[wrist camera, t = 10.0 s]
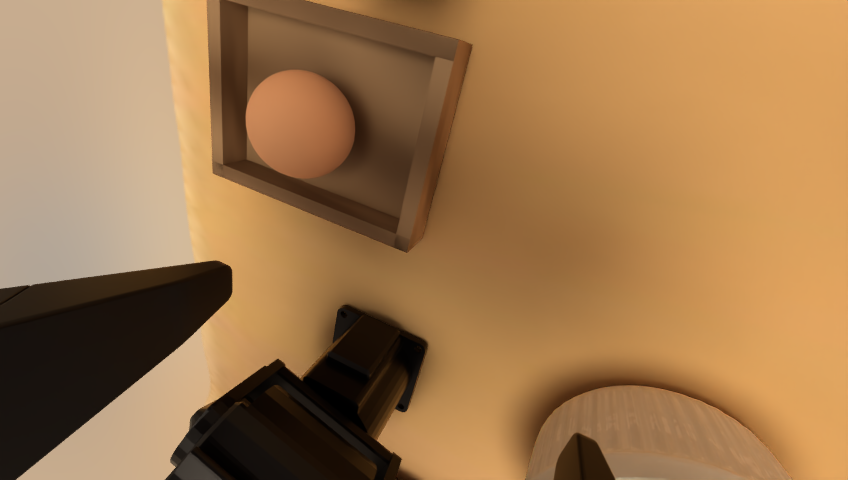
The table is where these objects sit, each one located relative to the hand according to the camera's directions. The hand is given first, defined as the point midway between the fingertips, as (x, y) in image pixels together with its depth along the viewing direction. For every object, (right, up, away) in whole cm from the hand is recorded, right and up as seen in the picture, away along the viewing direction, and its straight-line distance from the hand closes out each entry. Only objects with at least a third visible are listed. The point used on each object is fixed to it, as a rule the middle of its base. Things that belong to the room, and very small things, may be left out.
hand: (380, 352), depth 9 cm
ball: (-5, +8, +9) cm, 13 cm away
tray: (-4, +9, +12) cm, 15 cm away
